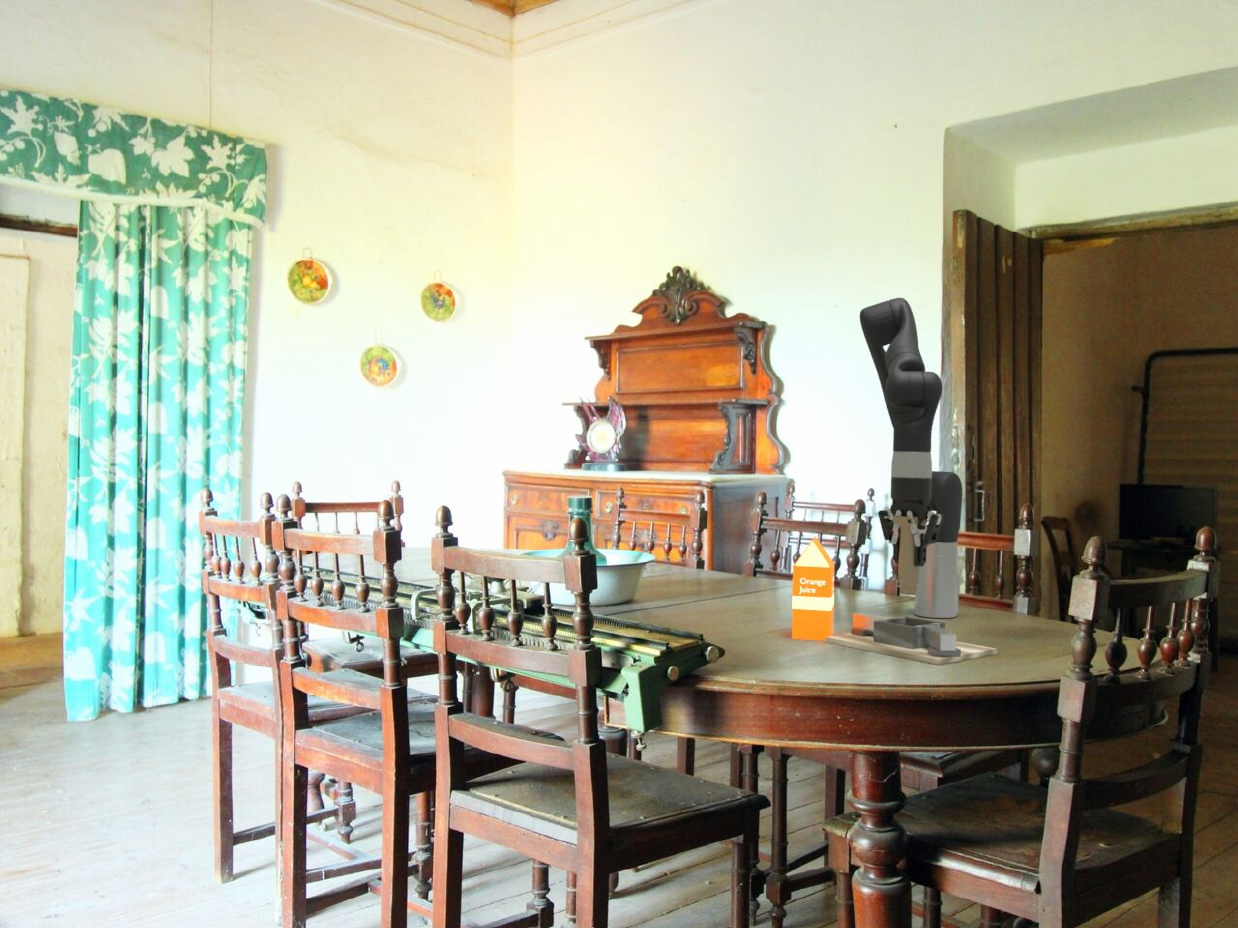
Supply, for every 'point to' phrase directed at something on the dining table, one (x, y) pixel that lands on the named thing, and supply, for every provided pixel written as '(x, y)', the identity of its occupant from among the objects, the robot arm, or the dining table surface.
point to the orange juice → (813, 594)
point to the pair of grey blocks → (932, 635)
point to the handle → (907, 556)
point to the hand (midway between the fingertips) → (909, 564)
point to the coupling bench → (907, 641)
